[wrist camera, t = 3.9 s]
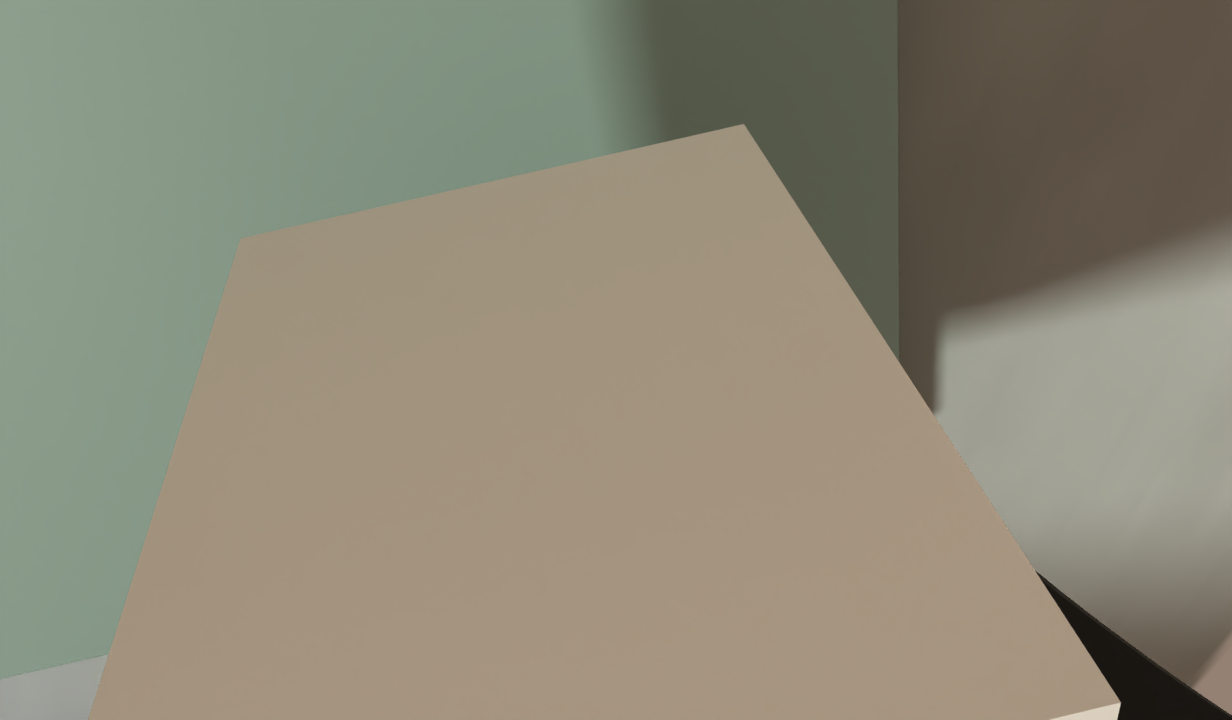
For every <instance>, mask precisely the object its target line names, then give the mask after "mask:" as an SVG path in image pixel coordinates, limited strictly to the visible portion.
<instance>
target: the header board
mask: <svg viewBox="0 0 1232 720" xmlns="http://www.w3.org/2000/svg"><path fill="white" fill-rule="evenodd" d="M742 124H744V125H745V126H746V128H747V130H748V131H749V133H750V134H751V136H752V137H753V139H754V140H755V142H756V143H757V145H758V146H759V148H760V149H761V151H762V153H763V154H764V156H765V157H766V159H767V160H768V162H769V163H770V165H771V166H772V168H773V169H774V171H775V173H776V174H777V176H778V177H779V179H780V180H781V182H782V183H783V185H784V186H785V188H786V189H787V191H788V192H789V194H790V196H791V197H792V199H793V200H794V202H795V203H796V205H797V206H798V208H799V209H800V211H801V212H802V214H803V215H804V217H805V219H806V220H807V222H808V223H809V225H810V226H811V228H812V229H813V231H814V232H815V234H816V235H817V237H818V238H819V240H820V242H821V243H822V245H823V246H824V248H825V249H826V251H827V252H828V254H829V255H830V257H831V258H832V260H833V262H834V263H835V265H836V266H837V268H838V269H839V271H840V272H841V274H842V275H843V277H844V278H845V280H846V281H847V283H848V285H849V286H850V288H851V289H852V291H853V292H854V294H855V295H856V297H857V298H858V300H859V301H860V303H861V304H862V306H863V308H864V309H865V311H866V312H867V314H868V315H869V317H870V318H871V320H872V321H873V323H874V324H875V326H876V328H877V329H878V331H879V332H880V334H881V335H882V337H883V338H884V340H885V341H886V343H887V344H888V346H889V347H890V349H891V351H892V352H893V354H894V355H895V357H896V358H897V360H898V361H899V176H898V0H0V679H3V678H8V677H12V676H16V675H21V674H25V673H29V672H34V671H38V670H42V669H46V668H51V667H55V666H59V665H64V664H68V663H72V662H76V661H81V660H85V659H89V658H94V657H98V656H102V655H107V654H109V652H110V649H111V646H112V643H113V640H114V636H115V633H116V630H117V627H118V624H119V621H120V617H121V614H122V611H123V608H124V605H125V602H126V599H127V595H128V592H129V589H130V586H131V583H132V580H133V576H134V573H135V570H136V567H137V564H138V561H139V557H140V554H141V551H142V548H143V545H144V542H145V539H146V535H147V532H148V529H149V526H150V523H151V520H152V516H153V513H154V510H155V507H156V504H157V501H158V497H159V494H160V491H161V488H162V485H163V482H164V479H165V475H166V472H167V469H168V466H169V463H170V460H171V456H172V453H173V450H174V447H175V444H176V441H177V437H178V434H179V431H180V428H181V425H182V422H183V419H184V415H185V412H186V409H187V406H188V403H189V400H190V396H191V393H192V390H193V387H194V384H195V381H196V377H197V374H198V371H199V368H200V365H201V362H202V359H203V355H204V352H205V349H206V346H207V343H208V340H209V336H210V333H211V330H212V327H213V324H214V321H215V317H216V314H217V311H218V308H219V305H220V302H221V299H222V295H223V292H224V289H225V286H226V283H227V280H228V276H229V273H230V270H231V267H232V264H233V261H234V257H235V254H236V251H237V248H238V245H239V242H240V239H241V238H244V237H249V236H253V235H258V234H262V233H266V232H271V231H275V230H280V229H284V228H288V227H293V226H297V225H302V224H306V223H310V222H315V221H319V220H324V219H328V218H332V217H337V216H341V215H346V214H350V213H354V212H359V211H363V210H368V209H372V208H376V207H381V206H385V205H390V204H394V203H398V202H403V201H407V200H412V199H416V198H420V197H425V196H429V195H434V194H438V193H442V192H447V191H451V190H456V189H460V188H464V187H469V186H473V185H478V184H482V183H486V182H491V181H495V180H500V179H504V178H508V177H513V176H517V175H522V174H526V173H530V172H535V171H539V170H544V169H548V168H552V167H557V166H561V165H566V164H570V163H574V162H579V161H583V160H588V159H592V158H596V157H601V156H605V155H610V154H614V153H618V152H623V151H627V150H632V149H636V148H640V147H645V146H649V145H654V144H658V143H662V142H667V141H671V140H676V139H680V138H684V137H689V136H693V135H698V134H702V133H706V132H711V131H715V130H720V129H724V128H728V127H733V126H737V125H742Z"/></svg>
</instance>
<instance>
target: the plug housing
mask: <svg viewBox="0 0 1232 720" xmlns="http://www.w3.org/2000/svg"><path fill="white" fill-rule="evenodd" d="M1120 704H1121V702H1120V700H1119V699H1118V697H1117V696H1116V694H1115V693H1114V691H1113V690H1112V688H1111V687H1110V685H1109V684H1108V682H1107V680H1106V679H1105V677H1104V676H1103V674H1102V673H1101V671H1100V670H1099V668H1098V667H1097V665H1096V664H1095V662H1094V661H1093V659H1092V657H1091V656H1090V654H1089V653H1088V651H1087V650H1086V648H1085V647H1084V645H1083V644H1082V642H1081V641H1080V639H1079V637H1078V636H1077V634H1076V633H1075V631H1074V630H1073V628H1072V627H1071V625H1070V624H1069V622H1068V621H1067V619H1066V618H1065V616H1064V614H1063V613H1062V611H1061V610H1060V608H1059V607H1058V605H1057V604H1056V602H1055V601H1054V599H1053V598H1052V596H1051V595H1050V593H1049V591H1048V590H1047V588H1046V587H1045V585H1044V584H1043V582H1042V581H1041V579H1040V578H1039V576H1038V575H1037V573H1036V572H1035V570H1034V568H1033V567H1032V565H1031V564H1030V562H1029V561H1028V559H1027V558H1026V556H1025V555H1024V553H1023V552H1022V550H1021V548H1020V547H1019V545H1018V544H1017V542H1016V541H1015V539H1014V538H1013V536H1012V535H1011V533H1010V532H1009V530H1008V529H1007V527H1006V525H1005V524H1004V522H1003V521H1002V519H1001V518H1000V516H999V515H998V513H997V512H996V510H995V509H994V507H993V506H992V504H991V502H990V501H989V499H988V498H987V496H986V495H985V493H984V492H983V490H982V489H981V487H980V486H979V484H978V483H977V481H976V479H975V478H974V476H973V475H972V473H971V472H970V470H969V469H968V467H967V466H966V464H965V463H964V461H963V459H962V458H961V456H960V455H959V453H958V452H957V450H956V449H955V447H954V446H953V444H952V443H951V441H950V440H949V438H948V436H947V435H946V433H945V432H944V430H943V429H942V427H941V426H940V424H939V423H938V421H937V420H936V418H935V417H934V415H933V413H932V412H931V410H930V409H929V407H928V406H927V404H926V403H925V401H924V400H923V398H922V397H921V395H920V393H919V392H918V390H917V389H916V387H915V386H914V384H913V383H912V381H911V380H910V378H909V377H908V375H907V374H906V372H905V370H904V369H903V367H902V366H901V364H900V363H899V361H898V360H897V358H896V357H895V355H894V354H893V352H892V351H891V349H890V347H889V346H888V344H887V343H886V341H885V340H884V338H883V337H882V335H881V334H880V332H879V331H878V329H877V328H876V326H875V324H874V323H873V321H872V320H871V318H870V317H869V315H868V314H867V312H866V311H865V309H864V308H863V306H862V304H861V303H860V301H859V300H858V298H857V297H856V295H855V294H854V292H853V291H852V289H851V288H850V286H849V285H848V283H847V281H846V280H845V278H844V277H843V275H842V274H841V272H840V271H839V269H838V268H837V266H836V265H835V263H834V262H833V260H832V258H831V257H830V255H829V254H828V252H827V251H826V249H825V248H824V246H823V245H822V243H821V242H820V240H819V238H818V237H817V235H816V234H815V232H814V231H813V229H812V228H811V226H810V225H809V223H808V222H807V220H806V219H805V217H804V215H803V214H802V212H801V211H800V209H799V208H798V206H797V205H796V203H795V202H794V200H793V199H792V197H791V196H790V194H789V192H788V191H787V189H786V188H785V186H784V185H783V183H782V182H781V180H780V179H779V177H778V176H777V174H776V173H775V171H774V169H773V168H772V166H771V165H770V163H769V162H768V160H767V159H766V157H765V156H764V154H763V153H762V151H761V149H760V148H759V146H758V145H757V143H756V142H755V140H754V139H753V137H752V136H751V134H750V133H749V131H748V130H747V128H746V126H745V125H744V124H742V125H737V126H733V127H728V128H724V129H720V130H715V131H711V132H706V133H702V134H698V135H693V136H689V137H684V138H680V139H676V140H671V141H667V142H662V143H658V144H654V145H649V146H645V147H640V148H636V149H632V150H627V151H623V152H618V153H614V154H610V155H605V156H601V157H596V158H592V159H588V160H583V161H579V162H574V163H570V164H566V165H561V166H557V167H552V168H548V169H544V170H539V171H535V172H530V173H526V174H522V175H517V176H513V177H508V178H504V179H500V180H495V181H491V182H486V183H482V184H478V185H473V186H469V187H464V188H460V189H456V190H451V191H447V192H442V193H438V194H434V195H429V196H425V197H420V198H416V199H412V200H407V201H403V202H398V203H394V204H390V205H385V206H381V207H376V208H372V209H368V210H363V211H359V212H354V213H350V214H346V215H341V216H337V217H332V218H328V219H324V220H319V221H315V222H310V223H306V224H302V225H297V226H293V227H288V228H284V229H280V230H275V231H271V232H266V233H262V234H258V235H253V236H249V237H244V238H241V239H240V242H239V245H238V248H237V251H236V254H235V257H234V261H233V264H232V267H231V270H230V273H229V276H228V280H227V283H226V286H225V289H224V292H223V295H222V299H221V302H220V305H219V308H218V311H217V314H216V317H215V321H214V324H213V327H212V330H211V333H210V336H209V340H208V343H207V346H206V349H205V352H204V355H203V359H202V362H201V365H200V368H199V371H198V374H197V377H196V381H195V384H194V387H193V390H192V393H191V396H190V400H189V403H188V406H187V409H186V412H185V415H184V419H183V422H182V425H181V428H180V431H179V434H178V437H177V441H176V444H175V447H174V450H173V453H172V456H171V460H170V463H169V466H168V469H167V472H166V475H165V479H164V482H163V485H162V488H161V491H160V494H159V497H158V501H157V504H156V507H155V510H154V513H153V516H152V520H151V523H150V526H149V529H148V532H147V535H146V539H145V542H144V545H143V548H142V551H141V554H140V557H139V561H138V564H137V567H136V570H135V573H134V576H133V580H132V583H131V586H130V589H129V592H128V595H127V599H126V602H125V605H124V608H123V611H122V614H121V617H120V621H119V624H118V627H117V630H116V633H115V636H114V640H113V643H112V646H111V649H110V652H109V655H108V659H107V662H106V665H105V668H104V671H103V674H102V677H101V681H100V684H99V687H98V690H97V693H96V696H95V700H94V703H93V706H92V709H91V712H90V715H89V719H88V720H1117V718H1118V714H1119V709H1120Z"/></svg>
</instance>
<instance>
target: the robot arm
mask: <svg viewBox="0 0 1232 720" xmlns="http://www.w3.org/2000/svg"><path fill="white" fill-rule="evenodd" d="M1035 572H1036V571H1035ZM1036 573H1037V575H1038V576H1039V578H1040V579H1041V581H1042V582H1043V584H1044V585H1045V587H1046V588H1047V590H1048V591H1049V593H1050V595H1051V596H1052V598H1053V599H1054V601H1055V602H1056V604H1057V605H1058V607H1059V608H1060V610H1061V611H1062V613H1063V614H1064V616H1065V618H1066V619H1067V621H1068V622H1069V624H1070V625H1071V627H1072V628H1073V630H1074V631H1075V633H1076V634H1077V636H1078V637H1079V639H1080V641H1081V642H1082V644H1083V645H1084V647H1085V648H1086V650H1087V651H1088V653H1089V654H1090V656H1091V657H1092V659H1093V661H1094V662H1095V664H1096V665H1097V667H1098V668H1099V670H1100V671H1101V673H1102V674H1103V676H1104V677H1105V679H1106V680H1107V682H1108V684H1109V685H1110V687H1111V688H1112V690H1113V691H1114V693H1115V694H1116V696H1117V697H1118V699H1119V700H1120V702H1121V704H1120V709H1119V714H1118V718H1117V720H1232V715H1230V714H1229V713H1227V712H1226V711H1224V710H1223V709H1221V708H1220V707H1218V706H1217V705H1215V704H1214V703H1212V702H1211V701H1209V700H1208V699H1206V698H1205V697H1203V696H1202V695H1201V694H1199V693H1198V692H1196V691H1195V690H1193V689H1192V688H1190V687H1189V686H1187V685H1186V684H1185V683H1183V682H1182V681H1180V680H1179V679H1178V678H1176V677H1175V676H1173V675H1172V674H1170V673H1169V672H1168V671H1166V670H1165V669H1163V668H1162V667H1161V666H1159V665H1158V664H1156V663H1155V662H1153V661H1152V660H1151V659H1149V658H1148V657H1147V656H1145V655H1144V654H1143V653H1141V652H1140V651H1139V650H1137V649H1136V648H1135V647H1133V646H1132V645H1130V644H1129V643H1128V642H1126V641H1125V640H1124V639H1122V638H1121V637H1120V636H1118V635H1117V634H1116V633H1114V632H1113V631H1112V630H1110V629H1109V628H1108V627H1106V626H1105V625H1103V624H1102V623H1101V622H1099V621H1098V620H1097V619H1096V618H1094V617H1093V616H1092V615H1090V614H1089V613H1088V612H1087V611H1085V610H1084V609H1083V608H1081V607H1080V606H1079V605H1077V604H1076V603H1075V602H1074V601H1072V600H1071V599H1070V598H1068V597H1067V596H1066V595H1065V594H1063V593H1062V592H1061V591H1060V590H1058V589H1057V588H1056V587H1055V586H1054V585H1052V584H1051V583H1050V582H1049V581H1047V580H1046V579H1045V578H1044V577H1043V576H1041V575H1040V574H1039V573H1038V572H1036Z"/></svg>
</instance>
